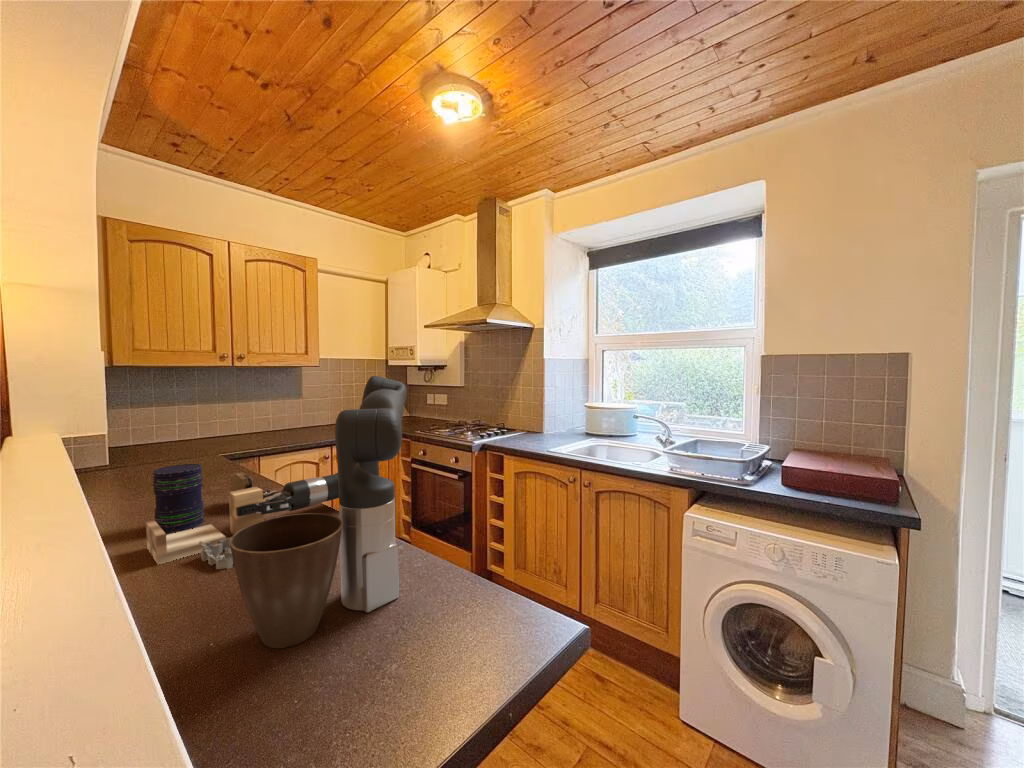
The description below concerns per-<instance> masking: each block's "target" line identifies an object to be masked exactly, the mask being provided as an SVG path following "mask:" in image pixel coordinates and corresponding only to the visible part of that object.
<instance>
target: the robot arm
mask: <svg viewBox="0 0 1024 768" xmlns="http://www.w3.org/2000/svg"><path fill="white" fill-rule="evenodd" d="M407 391H408V390H407V387H406V385H405V384H404V383H403V382H401V381H398V380H396V379H391V378H387V377H383V376H379V375H378V376H377V375H371V376H370V377H369V378H368V380H367V382H366V383H365V387H364V389H363V393H362V398H361V404H360V406H359V408H352V409H344V410H342V411H340V412H339V413H338V415H337V417H336V419H335V425H334V426H335V428H334V438H335V439H334V441H335V442H334V443H335V452H336V453H335V454H336V463H337V464H336V465H337V472H336V473H334V474H329V475H325V476H318V477H310V478H305V479H300V480H295V481H294V480H293V481H290V482H287V483H285V484H284V486H283V489H282V490H280V491H278V490H272V491H271V490H270V489H266V490H264V491H263V501H260V502H257V503H255V504H254V503H253V504H249V505H245V506H240V507H237V509H236V512H237V516H239V517H240V516H244V515H248V514H252V513H255V512H256V513H261V514H264V515H267V514H273V513H279V512H286V511H289V512H293V511H294V512H295V511H297V510H302V509H305V508H308V507H313V506H316V505H319V503H320V504H322V503H324V502H330V501H333V500H337V499H338V511H339V512H338V514H339V515H338V516H339V517H338V518H339V519H340V520H341V521H342V531H341V538H340V545H339V562H340V566H339V567H340V568H339V569H340V594H341V595H340V597H341V598H340V601H341V604H342V606H344V607H345V609H348V610H353V611H364V612H365V613H370V612H372V611H373V610H375V609H377V608H381V607H382V606H385V605H386V604H388V603H390V602H392V601H394V600H396V599H398V598H399V597H400V591H399V587H400V585H399V582H400V581H399V580H400V579H399V546H398V544H397V543H396V516H395V515H396V511H395V510H396V507H395V505H396V503H395V501H396V499H395V497H396V496H395V494H396V493H395V484H394V482H393V481H392V480H391V479H389V478H387V477H384V476H380V473H379V472H380V470H379V469H380V468H379V462H385V461H390V460H393V459H395V458H396V457H397V456H398V454H399V452H400V451H401V450H400V449H401V446H402V440H403V426H402V420H403V416H404V406H405V403H406V401H407V394H408V393H407Z"/></svg>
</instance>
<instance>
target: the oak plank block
mask: <svg viewBox="0 0 1024 768" xmlns="http://www.w3.org/2000/svg"><path fill="white" fill-rule="evenodd" d="M260 501H263V489H262V488H260V487H257V486H253V487H252V488H247V489H242V490H237V491H232V490H231V491H229V492H228V503H229V505H228V506H229V508H228V509H229V530H230V533H231V534H232V536H233V535H234V534H235V533H237V532H238V531H240V530H241V529H243V528H245V527H247V526H250V525H252V524H255V523H258V522H261V521H264V517H265V516H264V515H265V514H261V513H256V512H255V513H252V514H248V515H244V516H240V517H239V516H237V512H236V509H237V507H240V506H245V505H249V504H253V503H254V504H255V503H257V502H260Z"/></svg>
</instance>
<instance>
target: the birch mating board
mask: <svg viewBox="0 0 1024 768" xmlns="http://www.w3.org/2000/svg"><path fill="white" fill-rule="evenodd" d="M145 528H146V529H145V531H146V533H145V534H146V548H147V550H149V551H148V552H149V554H150V553H151V554H150V556H153V557H152V558H153V559H154V561H155V562H156V565H157V566H159V564H160V565H163V564H166V562H167V563H170V562H173V560H174V561H177V560H180V558H181V559H183V557H184V558H187V556H188V557H191V555H192V556H195V555H198V553H199V554H201V551H202V550H203V549H204V547H203V545H202V544H199V542H200V541H201V542H202V543H205V542H210V543H211V546H213V545H216V544H217V543H218V541H219V540H221V541H223V540H226V538H227V537H226V535H225V534H223V533H222V532H221V531H220V530H219V529H218V528H216V527H215V526H214V525H213V524H211V523H210V524H209V523H208V524H206V525H200V526H198V527H195V528H193V529H189V530H185V531H181V532H176V533H167V534H166V533H165V532H164V531H163V530H162V529H161V527H160V526H159V525H158V524H157V523H156V521H155V519H154V520H151V521H146V522H145ZM194 554H195V555H194ZM176 559H177V560H176Z"/></svg>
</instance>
